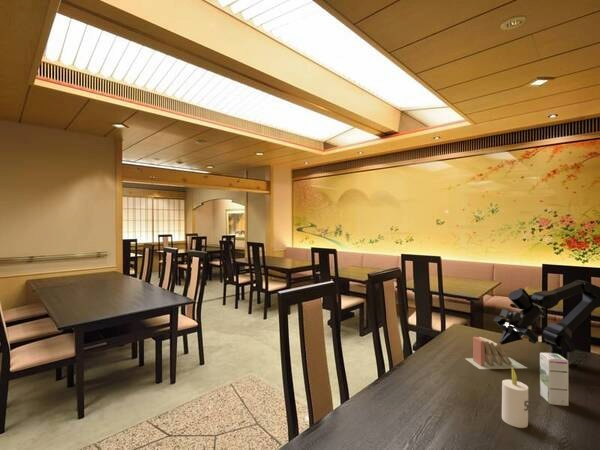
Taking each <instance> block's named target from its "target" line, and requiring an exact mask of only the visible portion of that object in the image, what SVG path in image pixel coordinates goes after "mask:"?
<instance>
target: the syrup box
mask: <svg viewBox="0 0 600 450" xmlns="http://www.w3.org/2000/svg"><path fill="white" fill-rule="evenodd" d="M568 361H569V359H568V360H566V359H565V358H563V357H562V356H560V355H559V354H555V353H551V352H539V395H540V396H541V397H542V398H543V400H545V402H546V403H548V404H550V405H556V406H565V407H566V406H567V407H569V366H568Z"/></svg>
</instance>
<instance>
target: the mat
mask: <svg viewBox="0 0 600 450" xmlns="http://www.w3.org/2000/svg"><path fill="white" fill-rule="evenodd" d="M508 358H509V360H510V361H511V362H512V364H511V365H507V364H506V363H504V362H503V361H502V363H503V364H502V365H500V366H499V365H498V364H496V363H495V362H493V363H494V365H492V366H490V365H488V364H487V363H485V366H480V365H478V364H477V363H476V362H474V361H473V357H471V358H468V357H466V358H464V359H465V360H466V361H468V363H470V364H471V365H473V366H474V367H476V368H477V369H479V370H498V369H499V370H505V369H507V370H508V369H509V370H510V369H511V370H512V368H513V369H514V370H515V369H528V367H527V366H525V365H523V364H521V363H520V362H518V361H516V360H515V359H513V358H511V357H508Z"/></svg>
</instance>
